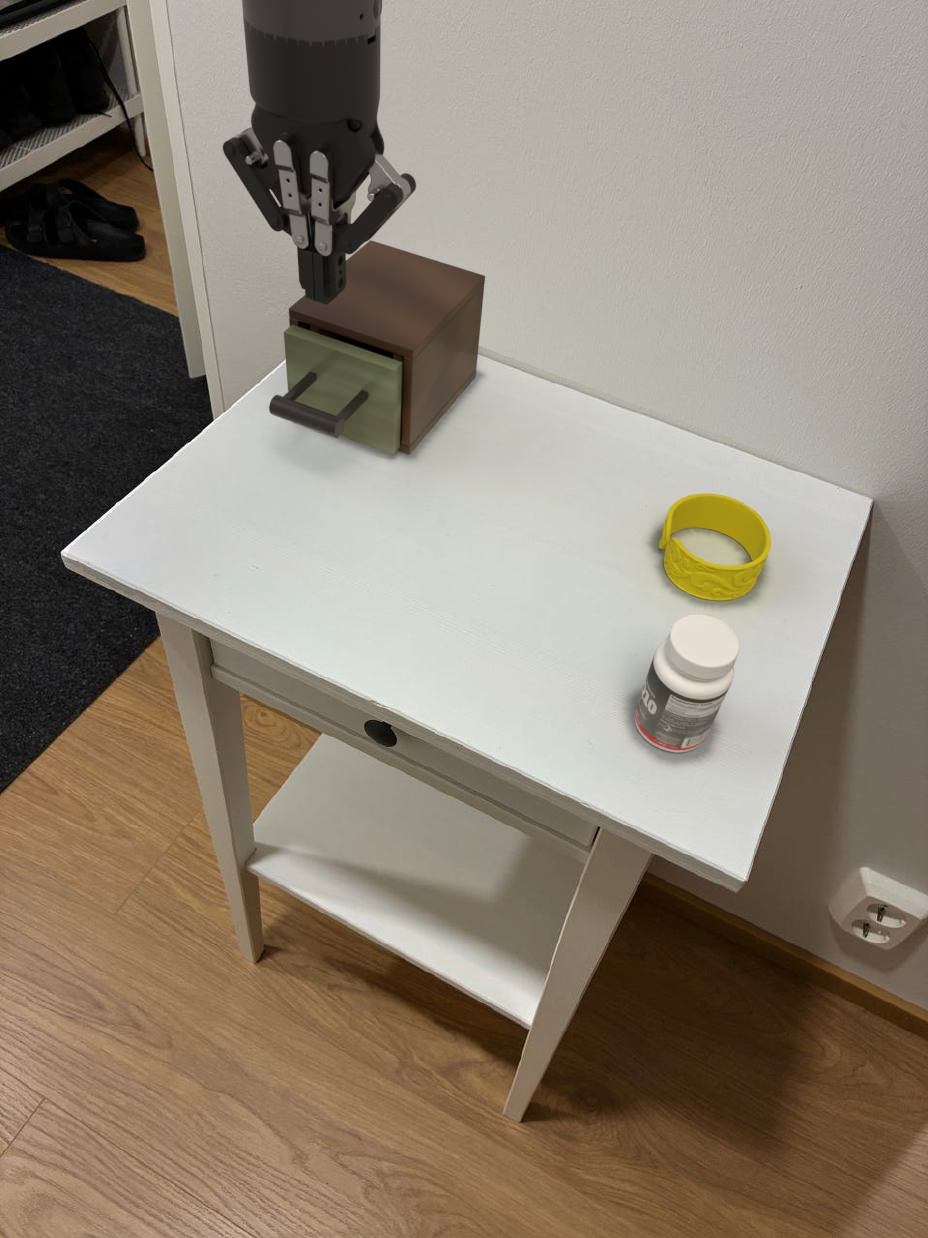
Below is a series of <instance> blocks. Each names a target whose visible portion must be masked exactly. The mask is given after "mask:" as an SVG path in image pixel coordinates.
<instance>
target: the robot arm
mask: <svg viewBox="0 0 928 1238" xmlns="http://www.w3.org/2000/svg"><path fill="white" fill-rule="evenodd" d="M241 7H242V20H243V31H244V42H245V43H244V44H245V52H246V53H245V55H246V64H247V65H246V66H247V77H248V88H249V94H250V97H251V99H252V100H253V102H254V103H255V104H254V108H253V110H252V112H251V116H250V125H251V127H248V128H246V129H244V130H243V131H241V132H240V133H237V134H236V135H234V136H233V137H231V138H229V139H228V140H226V141H224V142H223V144H222V152H223V154H224V156H225V157H226V159H227V161H228V162H229V164H230V166H231V167H232V168H233V170H234V172H235V173H236V175H237V176H238V178H239V179H240V182H241V183H242V184H243V186H244V188H245V189H246V191H247V192H248V194H249V195H250V197H251V199H252V200H253V202H254V204H255V205H256V206H257V208H258V210H259V212H260V213H261V214H262V216H263V218H264V219H265V221H266V222H267V224H268V225H269V227H270V228H271V230H273V231H275V232H279V233H280V232H282V231H283V232H284V233H286V234H287V235H288V236H290V237H291V239H292V242H293V244H294V245H295V247H296V251H297V268H298V270H297V272H298V282H299V285H300V287H301V289H302V290H304V295H305V296H306V298H307V299H310V300H313V301H316V302H319V303H322V304H325V305H327V304H329V303H330V302H331V301H332V300H333V299H334V298H336V297H337V296H338V294H339V293H341V292H342V291H343V290H344V288H345V286H346V260H347V255H353V254H355V253H356V252H357V251H358V250H359V249H360V248H361V246H362V245H363V244H364V243H366V242H369V241H370V240H371V239H373V237H374V236H375V235H376V234H377V233H378V231H379V230H380V229H381V228H382V227H383V226H384V225H385V224H386V223H387V222H388V220H390V219H391V217H392V216H393V215H394V214H395V213H396V212H397V211H398V210H399V209H400V207H401V206H402V205H403V204H404V203H405V202H406V201H407V200H408V199H409V198H410V196H412V194H413V193H414V192H415V191H416V189H417V182H416V178H414V176H413V175H412V174H410V173H408V172H404V173H402V174H399V172H398V171H397V170H396V169H395V168H394V167H393V165H392V164H391V163H390V161H388V159H387V158H386V157H385V156H384V155H385V154H384V153H385V140H384V138H383V135H382V133H381V130H380V127H379V121H378V112H379V106H380V100H381V36H382V33H381V31H382V29H381V27H382V26H381V24H382V23H381V22H382V21H381V20H382V18H381V15H382V11H383V0H241ZM368 177H370V183H369V185H368V188H367V195H366V197H367V200H368V201H369V202H370V203H369V204H368V205H367V206H366V207H365V208H364V210H363V211H361V213H360V214H359V215H358V216H357V218H356V219H355V220H354V221H353V222H352V221H351V220H352V219H351V218H352V211H353V208H354V207H355V204H356V199H357V198H356V197H357V191H358V190H359V188H360V187H361V186H362V185H363V183H364V182H365V180H366V179H367V178H368ZM272 193H273V194H272Z"/></svg>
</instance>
